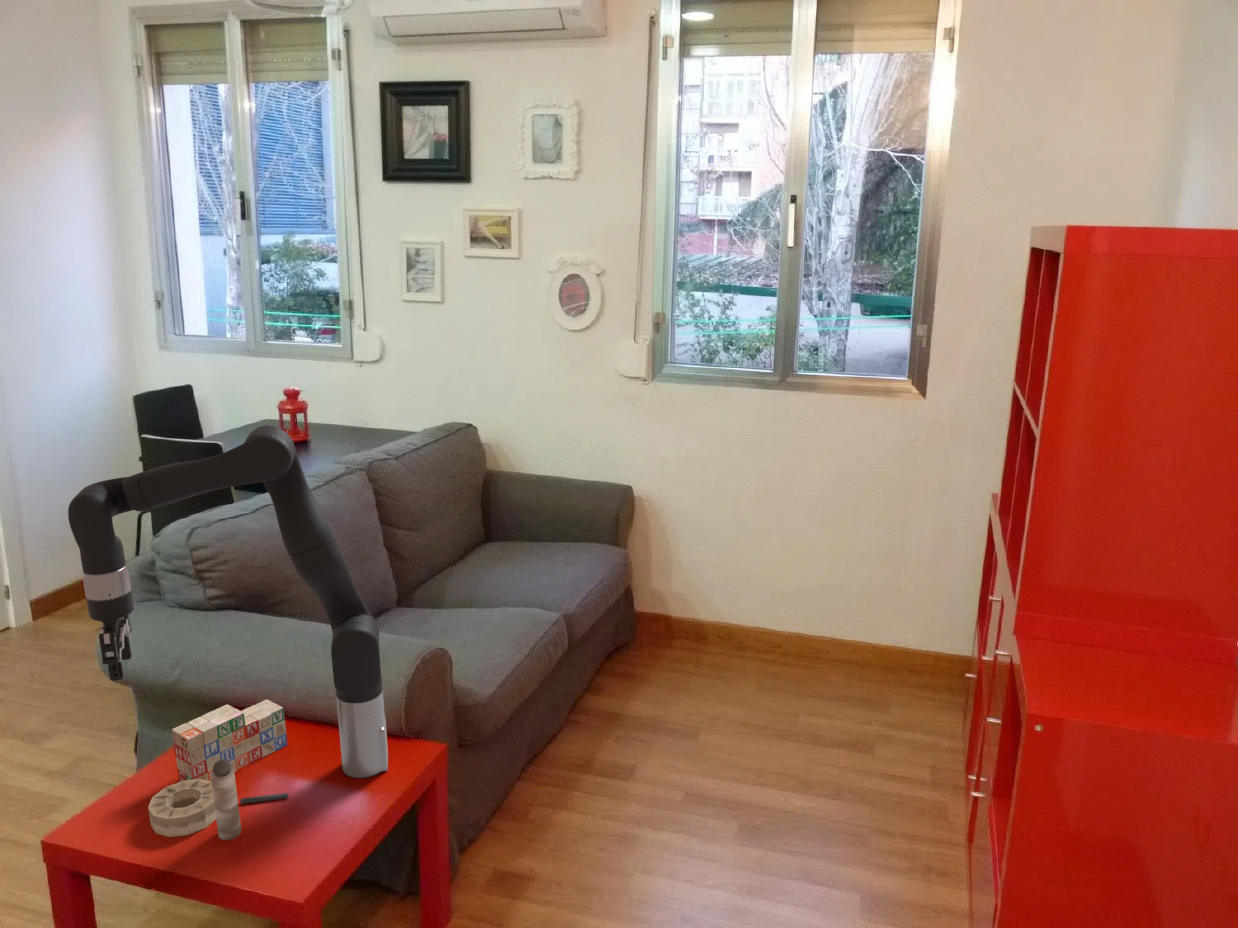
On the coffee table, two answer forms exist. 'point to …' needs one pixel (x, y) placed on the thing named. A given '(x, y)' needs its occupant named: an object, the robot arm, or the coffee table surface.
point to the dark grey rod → (264, 798)
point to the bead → (182, 808)
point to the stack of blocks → (228, 738)
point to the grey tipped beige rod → (225, 800)
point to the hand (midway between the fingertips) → (121, 668)
